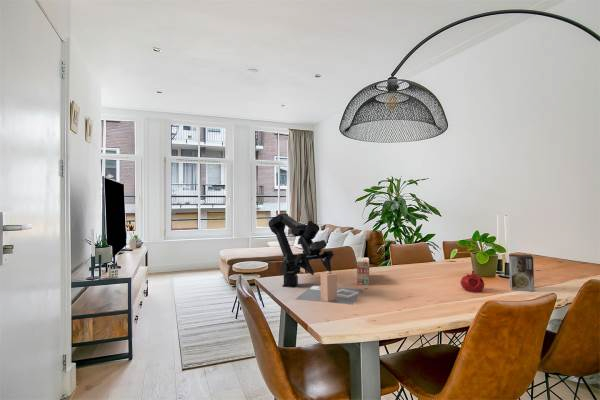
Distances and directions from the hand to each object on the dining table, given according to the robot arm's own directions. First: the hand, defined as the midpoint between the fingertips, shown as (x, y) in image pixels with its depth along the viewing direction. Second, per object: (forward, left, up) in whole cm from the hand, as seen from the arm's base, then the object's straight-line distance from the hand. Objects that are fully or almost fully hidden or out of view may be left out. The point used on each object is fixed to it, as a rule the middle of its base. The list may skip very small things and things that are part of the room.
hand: (322, 273), depth 146 cm
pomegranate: (+64, +34, -12) cm, 73 cm away
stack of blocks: (+11, +40, -12) cm, 43 cm away
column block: (+4, -3, -10) cm, 11 cm away
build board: (+2, +5, -11) cm, 13 cm away
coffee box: (+86, +43, -12) cm, 97 cm away
